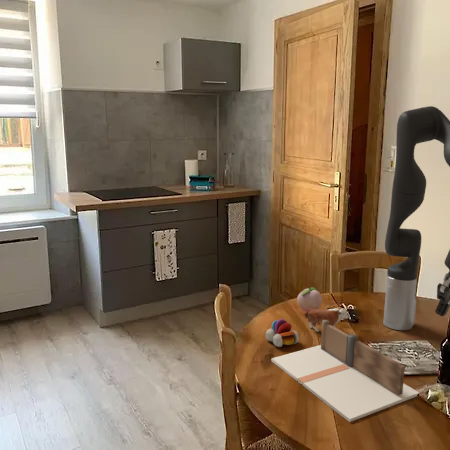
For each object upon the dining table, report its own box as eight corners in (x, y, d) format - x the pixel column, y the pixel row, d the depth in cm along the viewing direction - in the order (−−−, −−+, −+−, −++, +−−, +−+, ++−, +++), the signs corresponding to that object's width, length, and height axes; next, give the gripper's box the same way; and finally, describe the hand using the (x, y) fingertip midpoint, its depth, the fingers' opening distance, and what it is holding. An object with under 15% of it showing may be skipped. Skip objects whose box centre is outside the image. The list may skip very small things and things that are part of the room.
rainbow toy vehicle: (279, 351, 142) (280, 329, 140) (262, 338, 150) (262, 317, 149) (302, 345, 146) (303, 323, 144) (284, 333, 154) (285, 312, 153)
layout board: (333, 343, 147) (335, 315, 145) (418, 395, 119) (422, 360, 117) (271, 361, 136) (272, 330, 134) (349, 422, 109) (352, 384, 107)
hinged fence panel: (353, 366, 131) (354, 341, 129) (356, 365, 131) (358, 340, 130) (398, 395, 117) (401, 367, 116) (402, 394, 118) (404, 366, 116)
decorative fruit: (315, 320, 164) (316, 292, 162) (293, 315, 168) (294, 288, 166) (325, 311, 172) (326, 285, 170) (303, 306, 176) (305, 280, 174)
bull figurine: (347, 335, 153) (349, 311, 151) (305, 331, 155) (306, 308, 154) (347, 329, 157) (348, 306, 155) (306, 325, 160) (307, 303, 158)
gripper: (464, 241, 117) (437, 300, 123) (440, 248, 108) (413, 312, 115) (494, 254, 112) (465, 316, 119) (472, 264, 103) (442, 329, 110)
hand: (440, 313), depth 117 cm, fingers closed
